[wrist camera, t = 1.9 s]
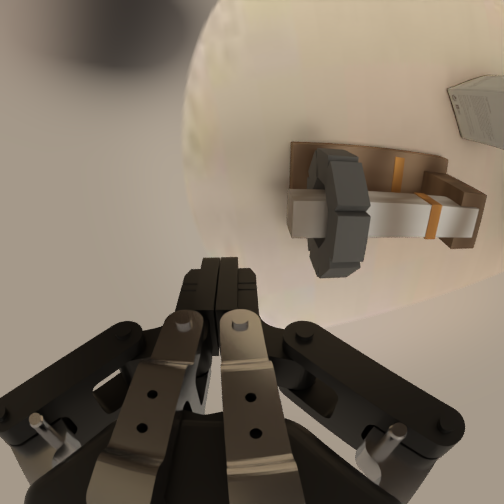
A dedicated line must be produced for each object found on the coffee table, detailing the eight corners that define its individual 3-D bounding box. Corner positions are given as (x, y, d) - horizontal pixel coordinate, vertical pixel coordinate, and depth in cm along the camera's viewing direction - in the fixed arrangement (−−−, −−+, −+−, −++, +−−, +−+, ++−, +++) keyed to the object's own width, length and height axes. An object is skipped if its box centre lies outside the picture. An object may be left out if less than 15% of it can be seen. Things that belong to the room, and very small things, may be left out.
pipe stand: (440, 156, 24) (493, 179, 17) (427, 226, 28) (470, 265, 21) (279, 141, 24) (295, 158, 17) (277, 225, 28) (289, 273, 21)
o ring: (333, 143, 22) (377, 167, 14) (325, 240, 26) (355, 299, 18) (308, 142, 22) (342, 165, 14) (303, 240, 26) (326, 301, 18)
